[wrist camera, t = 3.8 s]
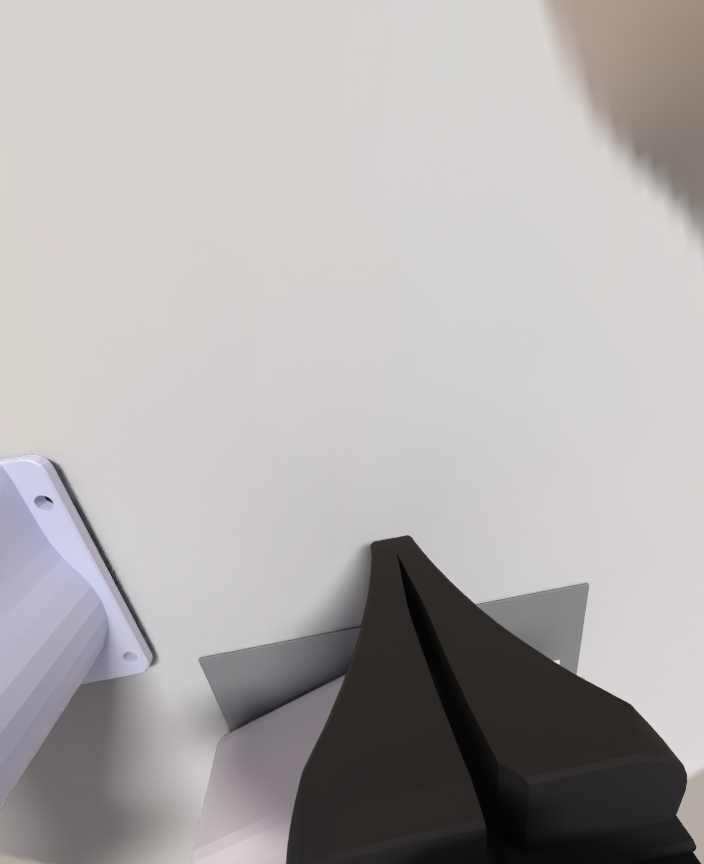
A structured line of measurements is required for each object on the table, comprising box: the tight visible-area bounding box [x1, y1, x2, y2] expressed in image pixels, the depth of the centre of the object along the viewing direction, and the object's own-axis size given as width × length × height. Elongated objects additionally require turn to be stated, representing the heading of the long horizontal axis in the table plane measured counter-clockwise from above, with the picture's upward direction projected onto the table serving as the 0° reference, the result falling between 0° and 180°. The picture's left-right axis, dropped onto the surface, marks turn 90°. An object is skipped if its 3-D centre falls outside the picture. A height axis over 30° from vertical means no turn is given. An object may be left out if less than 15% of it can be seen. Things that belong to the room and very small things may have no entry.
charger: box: [191, 674, 585, 864], centre depth 14 cm, size 5×9×15 cm
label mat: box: [199, 583, 589, 732], centre depth 17 cm, size 18×17×1 cm
